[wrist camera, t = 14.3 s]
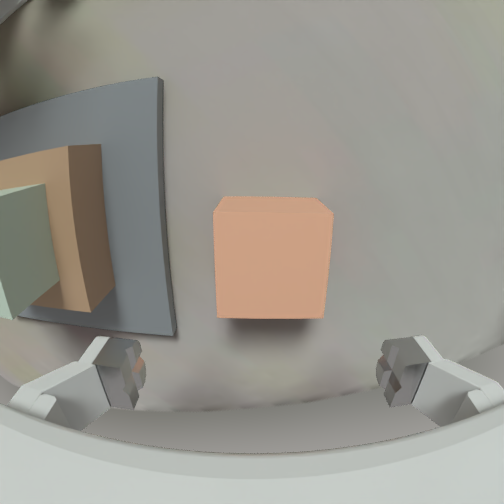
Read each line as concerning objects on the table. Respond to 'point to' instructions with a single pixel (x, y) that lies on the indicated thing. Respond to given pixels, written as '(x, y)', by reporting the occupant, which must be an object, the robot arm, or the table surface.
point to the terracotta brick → (271, 257)
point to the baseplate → (123, 193)
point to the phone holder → (9, 8)
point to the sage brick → (24, 249)
